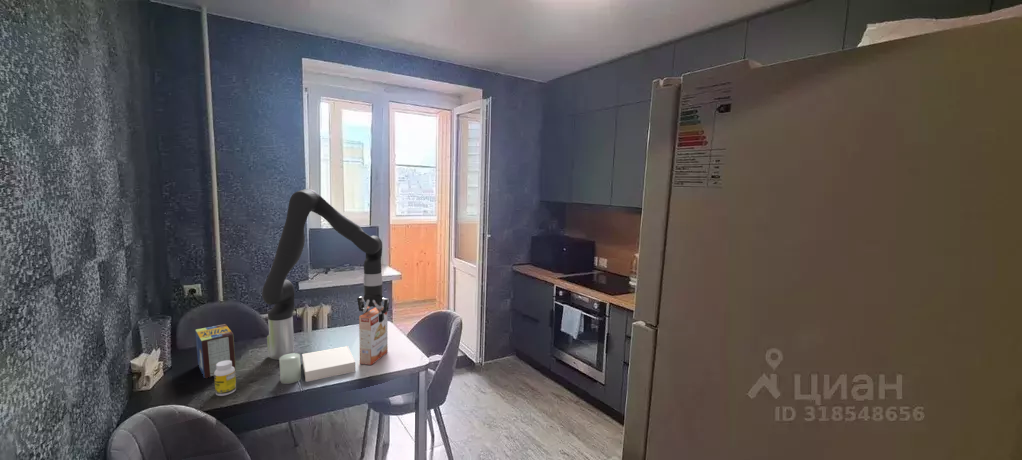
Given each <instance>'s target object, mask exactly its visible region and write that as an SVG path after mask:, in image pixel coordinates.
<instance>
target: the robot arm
mask: <svg viewBox="0 0 1022 460" xmlns="http://www.w3.org/2000/svg"><path fill="white" fill-rule="evenodd" d="M289 198H290V199H289V200H288V202H289V203H288V208H287V213H286V214H287V215H286V219H285V223H284V226H283V229H282V232H281V235H280V238H279V240H278V244H277V248H276V252H275V256H274V259H273V261H272V264H271V268H270V270H269V274H268V276H267V277H266V280H265V282H264V285H263V287H262V291H261V296H262V299H263V301H264V302H265V304H266V305H274V306H273V307H272V308H271V309H270V310H268V313H267V321H268V323H267V324H268V325H267V326H268V335H267V336H266V342H267V344H266V346H267V356H268V358H269V359H272V360H279V358H280V357H281V356H283V355H286V354H290V353H295V339H294V336H295V335H294V317H293V316H294V315H293V313H294V311H295V288H294V285H293V283H292V282H291V281H290V280H289V279H286V278H287V276H288V274H289V273H290V272H291V271H292V270H293V268H294V267H295V266H296V264H297V263H298V262H299V260H300V259H301V256H302V253H303V251H304V248H305V247H304V246H305V241H306V240H305V225H306V222H307V219H308V217H309V215H310V212H313V213H315V214H316V215H319V217H322V218H323V219H324V220H325V221H326V222H327V223H328V224H329V225H330V226H331V227H332V229H334V231H336V232H337V233H338V234H340V235H341V236H342V237H344V238H346V239H347V240H348V241H350V242H352V243H353V245H355V246H356V247H357V248H358V249H359V250H360V251H362V252H363V253H365V260H364V262H363V294H364V295H360V296H359V297H357V299H356V300H357V306H358V311H359V312H363V314H364V313H366V312H368V311H370V308H371V307H373V308H375V307H376V309H377V310H378V312H379V322H382V321H383V320H384V313H386V312H387V313H388V312H389V309H390V307H389V306H390V300H391V299H390V298H389V297H388V298H385V297H384V296H383V282H384V281H383V273H382V253H383V242H382V239H381V238H380V237H379V236H378V235H369V234H368V233H366V232H365V231H364V229H363V227H361V226H360V225H358V224H357V223H356V222H354V221H353V220H351V219H350V218H348V217H347V216H346V215H343V214H342V213H341V212H340V211H338V210H337V209H336V208H334V206H333V205H331V204H330V203H329V202H328V201H327V200H325V199H324V197H322V196H321V195H320V194H319V193H318V192H317V191H315V190H313V189H311V188H310V189H309V188H304V189H301V190H297V191H295V192H294V193H292V195H291V197H289ZM364 301H365V303H364ZM383 307H384V308H383Z"/></svg>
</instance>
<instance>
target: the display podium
mask: <svg viewBox="0 0 1022 460" xmlns="http://www.w3.org/2000/svg"><path fill="white" fill-rule="evenodd" d="M301 355H302V358H301V359H302V369H303V374H304V379H305V382H312V381H317V380H323V379H326V378H332V377H336V376H340V375H341V376H342V375H345V374H349V373H355V372H356V360H355V358H354V356H353V353H352V352H351V349H350V347H349V345H345V346H341V347H334V348H329V349H328V348H327V349H324V350H318V351H312V352H305V353H302V354H301Z"/></svg>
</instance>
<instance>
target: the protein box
mask: <svg viewBox="0 0 1022 460" xmlns="http://www.w3.org/2000/svg"><path fill="white" fill-rule="evenodd" d="M194 332H195V343H196V344H195V345H196V354H197V365H199V366H198V367H199V370H200V373H201V375H202V374H203V375H202V377H203V379H204V378H206V379H208V377H209V378H212V377H211V376H213V377H214V372H215V370H217V369H216V364H217V363H218V362H221V361H225V360H230V361H232V366H233V367H234V368H235V370H236V369H237V368H236V367H237V366H236V354H235V341H234V340H235V339H234V332H232V330H231V329H230V328H229V327H228V325H227V324H226V323H223V324H217V325H213V326H208V327H203V328H197V329H195V331H194ZM236 371H237V370H236Z"/></svg>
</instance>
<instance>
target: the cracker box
mask: <svg viewBox="0 0 1022 460" xmlns="http://www.w3.org/2000/svg"><path fill="white" fill-rule="evenodd" d="M383 308H384V306H383ZM358 323H359V324H358V329H359V330H358V331H359V334H358V335H359V339H358V340H359V341H358V342H359V364H360V365H368V366H372V365H373V364H375V363H376V362H377V361H379V360H380V359H381V358H382V357H383V356H384V355H386V354H388V352H389V351H388V347H389V346H388V339H389V338H388V311H387V312H386V313H384V320H383V321H382V322H379V312H378V310H377V309H376V307H373V308H371V309H369V310H368V312H366V313H363V314H361V315H359V317H358Z"/></svg>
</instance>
